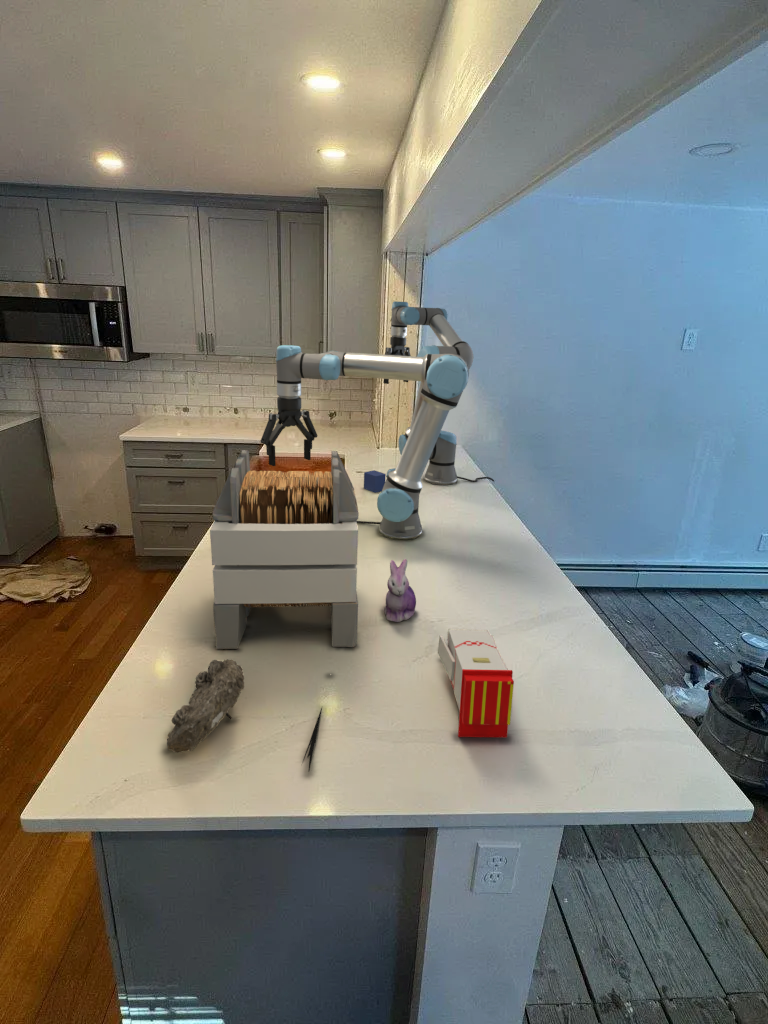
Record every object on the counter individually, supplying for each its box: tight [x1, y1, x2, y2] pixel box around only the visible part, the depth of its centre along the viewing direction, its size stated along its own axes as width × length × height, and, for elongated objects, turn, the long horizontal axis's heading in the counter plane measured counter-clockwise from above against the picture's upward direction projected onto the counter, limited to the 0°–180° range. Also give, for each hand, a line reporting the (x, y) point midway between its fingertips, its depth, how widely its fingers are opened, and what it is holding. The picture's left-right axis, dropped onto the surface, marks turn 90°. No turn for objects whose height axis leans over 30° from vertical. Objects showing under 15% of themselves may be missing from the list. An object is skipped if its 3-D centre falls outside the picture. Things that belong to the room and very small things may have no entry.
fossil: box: [166, 658, 245, 754], centre depth 106 cm, size 22×10×15 cm
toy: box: [437, 628, 515, 738], centre depth 117 cm, size 12×13×30 cm
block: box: [363, 469, 387, 494], centre depth 246 cm, size 6×7×8 cm
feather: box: [301, 673, 332, 771], centre depth 108 cm, size 2×28×2 cm
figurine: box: [384, 558, 417, 623], centre depth 145 cm, size 9×10×15 cm
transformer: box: [209, 449, 360, 651], centre depth 139 cm, size 34×33×41 cm
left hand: (290, 462), depth 185 cm, fingers open, 13 cm apart
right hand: (396, 382), depth 273 cm, fingers open, 13 cm apart
